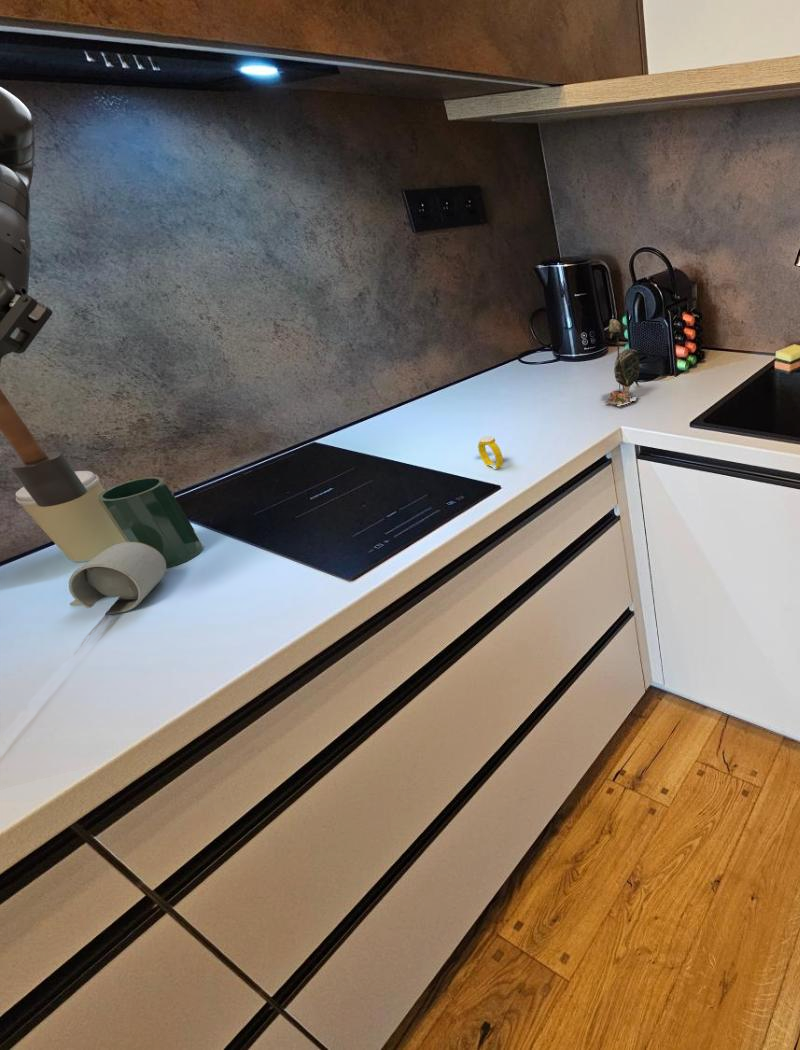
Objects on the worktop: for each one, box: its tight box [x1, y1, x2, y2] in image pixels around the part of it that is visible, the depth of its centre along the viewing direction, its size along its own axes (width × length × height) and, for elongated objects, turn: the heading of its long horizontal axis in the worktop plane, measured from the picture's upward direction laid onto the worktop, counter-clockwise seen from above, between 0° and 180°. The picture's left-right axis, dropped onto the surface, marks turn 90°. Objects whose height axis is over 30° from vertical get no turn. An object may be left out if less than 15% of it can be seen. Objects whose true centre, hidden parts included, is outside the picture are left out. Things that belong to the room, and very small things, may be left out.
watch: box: [477, 435, 504, 469], centre depth 112 cm, size 6×3×6 cm, turn 51°
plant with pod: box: [604, 318, 641, 406], centre depth 138 cm, size 8×11×20 cm
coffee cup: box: [15, 470, 126, 563], centre depth 92 cm, size 9×9×12 cm
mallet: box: [0, 388, 87, 507], centre depth 65 cm, size 4×4×18 cm
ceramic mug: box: [68, 542, 167, 615], centre depth 80 cm, size 11×8×8 cm
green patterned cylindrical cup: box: [98, 476, 205, 569], centre depth 88 cm, size 8×8×12 cm
